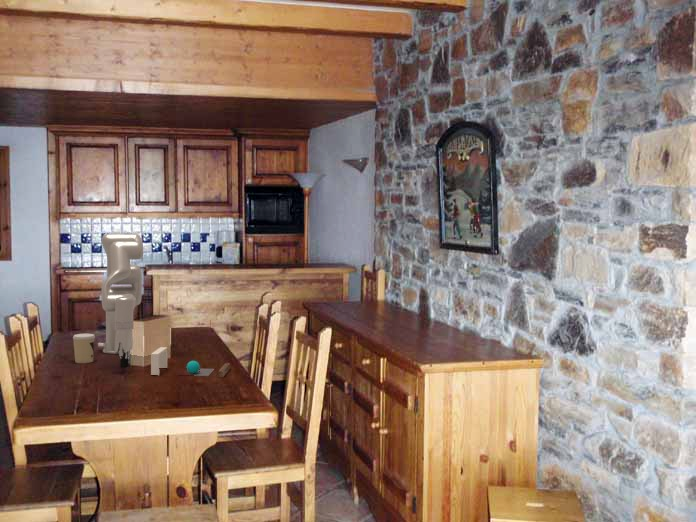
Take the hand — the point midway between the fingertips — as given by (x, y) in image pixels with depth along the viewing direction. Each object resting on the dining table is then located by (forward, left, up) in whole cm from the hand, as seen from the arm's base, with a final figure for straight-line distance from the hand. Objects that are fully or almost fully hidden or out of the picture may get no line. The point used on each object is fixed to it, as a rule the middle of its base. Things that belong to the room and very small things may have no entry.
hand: (124, 367), depth 314 cm
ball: (+30, -2, +1) cm, 30 cm away
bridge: (+15, 0, -2) cm, 15 cm away
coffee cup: (-24, +17, -2) cm, 29 cm away
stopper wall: (+43, 0, -2) cm, 43 cm away
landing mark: (+31, 0, -2) cm, 31 cm away
